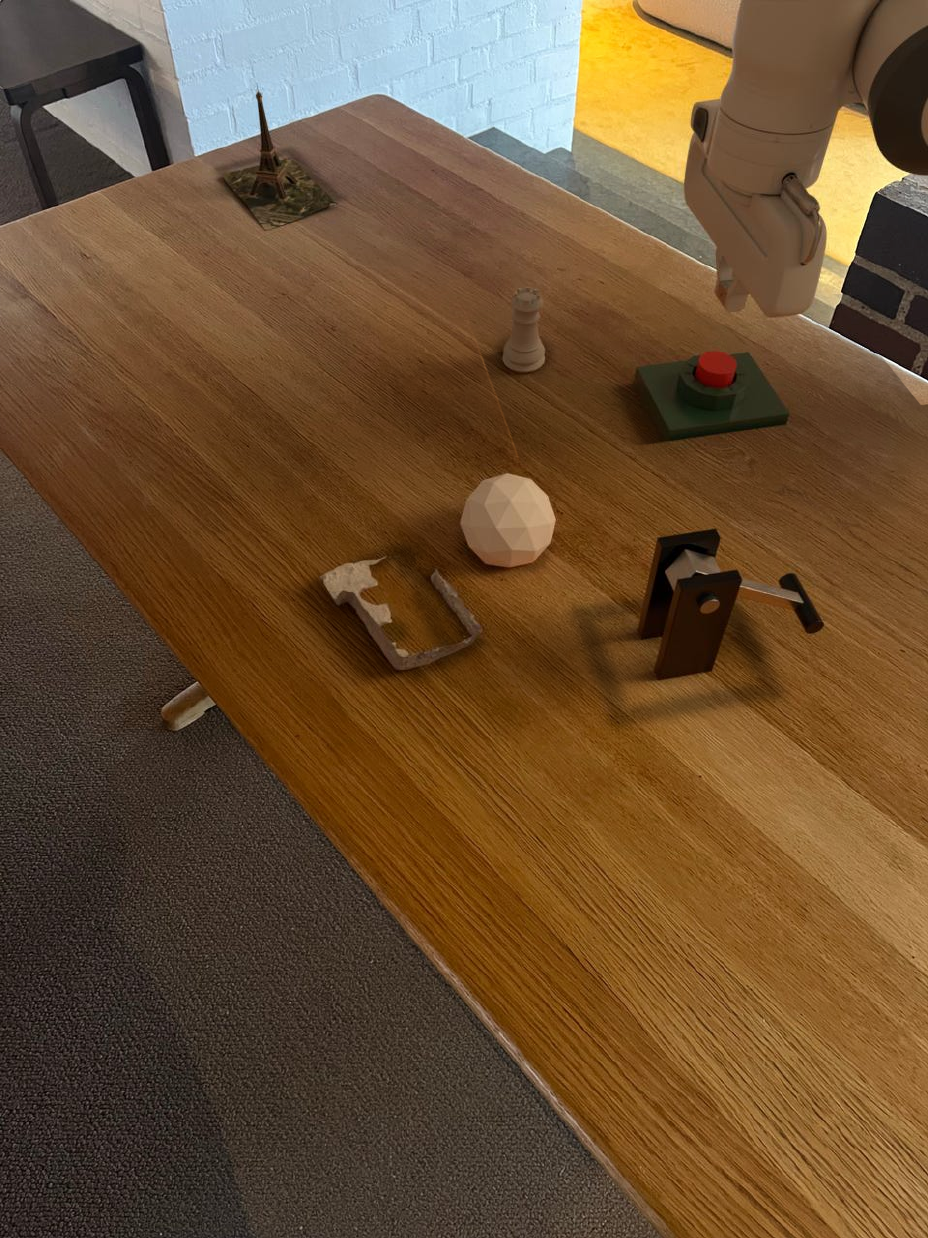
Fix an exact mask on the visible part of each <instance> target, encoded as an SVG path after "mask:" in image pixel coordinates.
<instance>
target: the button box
mask: <svg viewBox="0 0 928 1238" xmlns="http://www.w3.org/2000/svg"><path fill="white" fill-rule="evenodd" d="M701 355H702V354H698V355H697V354H696V355H693V356H691V357H690V358H688V359H686V360H685V359H684V360H678V361H670V362H663V363H656V364H648V365H641V366H636V367H635V373H634V379H633V386H634V388H635V390H636V392H637V394H638V396H639V399H640V400H641V403H642V404H643V406H644V408H645V410H646V412H647V414H648V416H649V418H650V419H651V422H652V424H653V426H654V427H655V429H656V431H657V433H658V435H659V437H660V439H661V441H662V442H663V443H668V442H673V441H682V440H689V439H695V438H701V437H703V438H704V437H708V436H709V437H711V436H717V435H723V434H729V433H738V432H743V431H745V432H746V431H751V430H752V431H753V430H757V429H764V428H771V427H779V426H786V425H787V422H788V419H789V416H790V412H789V410H788V408H787V407H786V405H785V404H784V402H783V401H782V400H781V398H780V397H779V395H778V394H777V392H776V391H775V389H774V388H773V386H772V384H771V383H770V382H769V379H767V377H766V376H765V374H764V373H763V371H762V369H761V368H760V366H759V365H758V363H757V362H756V360H755V359H754V358H753V356H752V355H751V352H749V351H746V352H745V351H744V352H739V353H732V354H729V355H730V356H732V357H733V358H734V359H735V361H736V363H737V366H736V370H735V374H734V378H733V381H732V383H731V384H730V385H729V386H727V387H721V388H713V387H708V386H705V385H703V384H701V383H700V382H698V381H697V380H696V377H695V373H696V369H697V364H698V360H699V357H700V356H701Z"/></svg>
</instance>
